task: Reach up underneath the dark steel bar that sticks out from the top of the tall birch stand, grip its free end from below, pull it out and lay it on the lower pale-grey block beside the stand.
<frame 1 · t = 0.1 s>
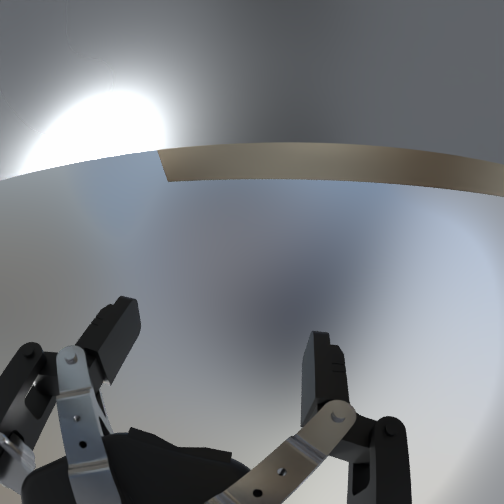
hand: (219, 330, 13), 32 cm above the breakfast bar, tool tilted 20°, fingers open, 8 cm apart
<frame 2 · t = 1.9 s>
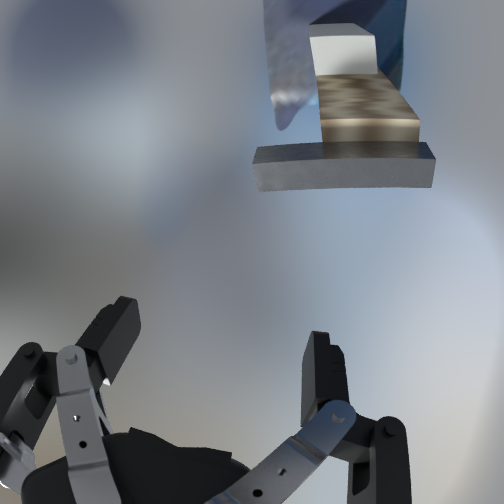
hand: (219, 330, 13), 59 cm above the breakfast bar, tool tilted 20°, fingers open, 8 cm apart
steel bar: (344, 155, 34), point 32 cm above the breakfast bar, touching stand
block: (333, 36, 47), on the breakfast bar
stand: (345, 81, 54), on the breakfast bar
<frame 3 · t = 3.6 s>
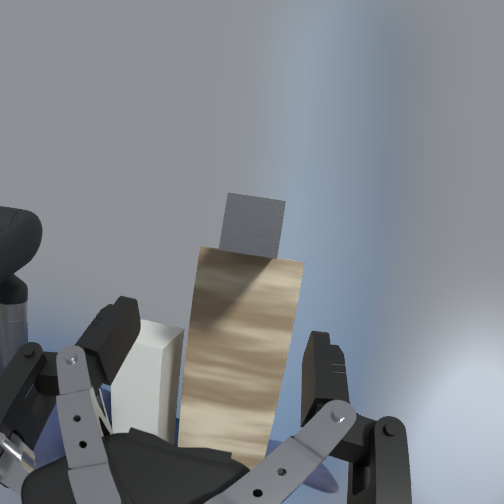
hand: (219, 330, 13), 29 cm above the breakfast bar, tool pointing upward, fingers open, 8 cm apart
steel bar: (252, 254, 31), point 32 cm above the breakfast bar, touching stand
block: (146, 461, 33), on the breakfast bar
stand: (218, 472, 35), on the breakfast bar
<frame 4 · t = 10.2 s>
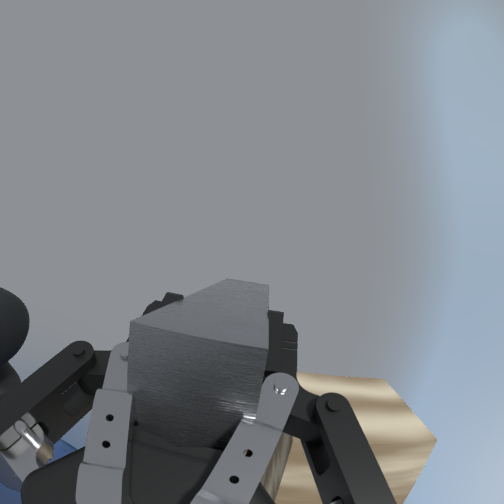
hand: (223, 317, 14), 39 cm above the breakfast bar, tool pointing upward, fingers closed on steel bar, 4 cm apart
steel bar: (227, 355, 18), point 36 cm above the breakfast bar, touching gripper
when the fingers open (26 cm above the breakfast bar, at t = 13.3 s): steel bar drops 1 cm, resting on block.
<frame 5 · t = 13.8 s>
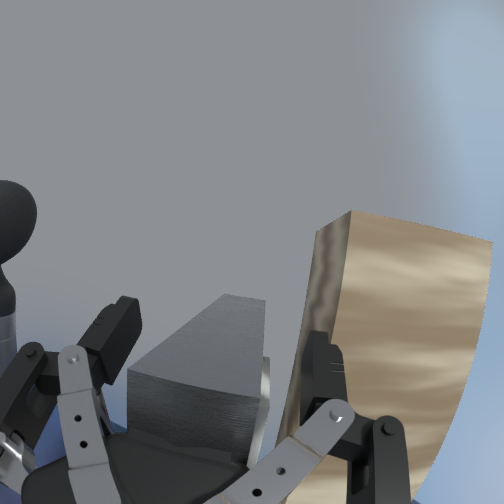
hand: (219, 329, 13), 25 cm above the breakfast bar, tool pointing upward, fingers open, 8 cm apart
steel bar: (223, 376, 18), point 21 cm above the breakfast bar, touching block
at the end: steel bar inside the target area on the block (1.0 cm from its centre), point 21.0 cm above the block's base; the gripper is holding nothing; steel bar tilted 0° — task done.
